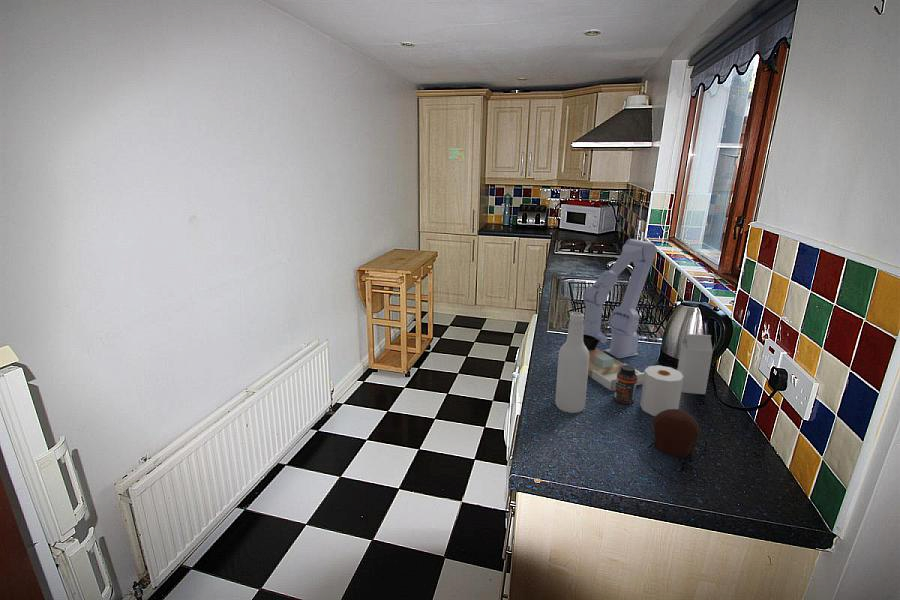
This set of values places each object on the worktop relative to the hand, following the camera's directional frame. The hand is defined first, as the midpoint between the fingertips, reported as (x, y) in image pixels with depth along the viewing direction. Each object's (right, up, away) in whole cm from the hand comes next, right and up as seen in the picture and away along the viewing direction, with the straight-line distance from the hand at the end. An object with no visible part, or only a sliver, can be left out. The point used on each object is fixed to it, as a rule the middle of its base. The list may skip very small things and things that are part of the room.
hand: (589, 353), depth 166 cm
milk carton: (+27, -9, -19) cm, 34 cm away
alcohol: (-15, -13, -28) cm, 35 cm away
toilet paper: (+11, -13, -30) cm, 35 cm away
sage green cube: (+3, -3, -7) cm, 8 cm away
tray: (+6, -8, -13) cm, 16 cm away
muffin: (+7, -19, -48) cm, 52 cm away
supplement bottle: (+3, -12, -25) cm, 28 cm away
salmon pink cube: (+1, -2, -3) cm, 4 cm away
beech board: (+1, -4, -2) cm, 5 cm away
